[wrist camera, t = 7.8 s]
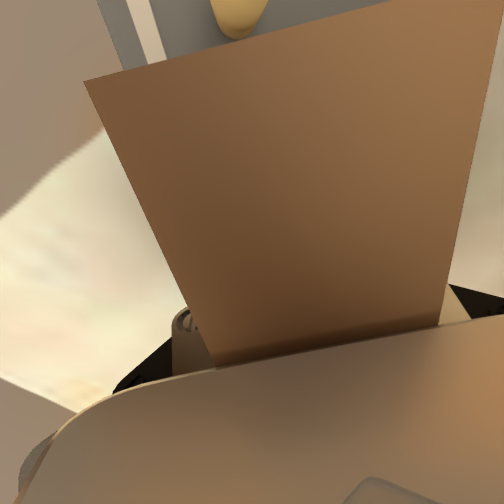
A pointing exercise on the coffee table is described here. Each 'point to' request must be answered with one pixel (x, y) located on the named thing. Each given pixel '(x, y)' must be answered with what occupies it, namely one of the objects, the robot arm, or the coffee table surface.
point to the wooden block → (309, 171)
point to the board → (204, 23)
